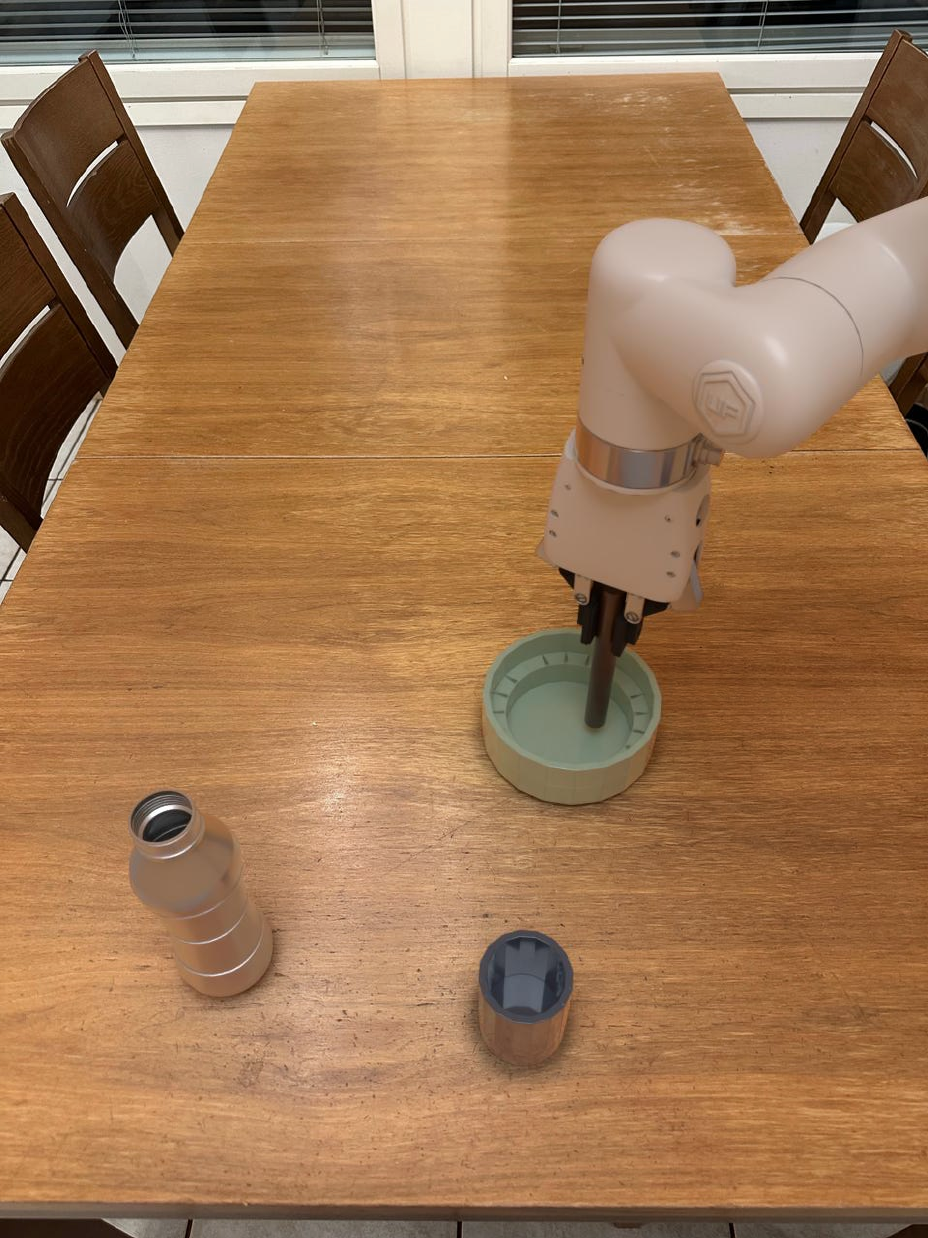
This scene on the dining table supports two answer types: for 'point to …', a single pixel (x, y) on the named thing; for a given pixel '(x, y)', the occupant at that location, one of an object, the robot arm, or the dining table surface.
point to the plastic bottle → (198, 893)
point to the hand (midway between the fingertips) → (607, 636)
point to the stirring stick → (603, 657)
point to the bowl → (567, 719)
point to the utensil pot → (524, 996)
